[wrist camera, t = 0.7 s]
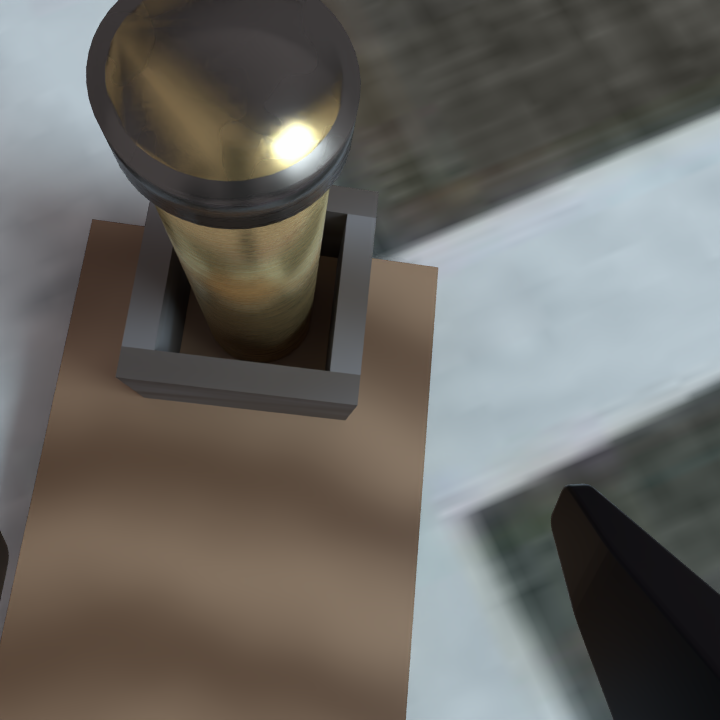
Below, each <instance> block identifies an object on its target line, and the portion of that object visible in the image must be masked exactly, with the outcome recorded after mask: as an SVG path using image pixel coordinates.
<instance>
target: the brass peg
mask: <svg viewBox="0 0 720 720" xmlns="http://www.w3.org/2000/svg"><path fill="white" fill-rule="evenodd" d="M86 84H87V90H88V96H89V101H90V104H91V107H92V110H93V113H94V116H95V118H96V120H97V122H98V124H99V126H100V128H101V130H102V132H103V134H104V136H105V138H106V140H107V142H108V144H109V146H110V148H111V150H112V152H113V154H114V156H115V158H116V160H117V162H118V164H119V166H120V168H121V169H122V171H123V172H124V174H125V175H126V177H127V178H128V180H129V181H130V182H131V183H132V184H133V185H134V187H135V188H136V189H137V190H138V191H139V192H140V193H141V194H142V195H143V196H145V197H146V198H147V199H148V200H149V201H151V202H152V203H153V204H154V205H155V207H156V209H157V211H158V214H159V216H160V218H161V220H162V223H163V225H164V227H165V229H166V232H167V234H168V236H169V238H170V240H171V243H172V245H173V247H174V249H175V252H176V254H177V256H178V258H179V261H180V263H181V265H182V267H183V270H184V272H185V274H186V276H187V279H188V281H189V283H190V285H191V288H192V290H193V292H194V294H195V297H196V299H197V301H198V303H199V306H200V308H201V310H202V312H203V315H204V317H205V319H206V321H207V324H208V326H209V328H210V330H211V333H212V335H213V337H214V339H215V340H216V342H217V343H218V344H219V346H220V347H221V348H222V349H223V350H224V351H226V352H227V353H228V354H229V355H231V356H233V357H234V358H236V359H239V360H241V361H249V362H257V363H271V362H275V361H278V360H280V359H282V358H284V357H286V356H288V355H289V354H291V353H292V352H293V351H295V350H296V349H297V348H298V347H299V345H300V344H301V343H302V341H303V340H304V338H305V336H306V334H307V332H308V329H309V326H310V320H311V313H312V306H313V299H314V292H315V285H316V278H317V271H318V265H319V258H320V251H321V244H322V237H323V230H324V223H325V216H326V209H327V202H328V195H329V188H330V187H331V186H332V184H333V183H334V182H335V180H336V179H337V178H338V176H339V174H340V173H341V171H342V169H343V167H344V165H345V163H346V160H347V157H348V154H349V151H350V148H351V142H352V137H353V132H354V126H355V121H356V116H357V110H358V105H359V100H360V85H361V80H360V72H359V65H358V61H357V57H356V53H355V50H354V48H353V46H352V43H351V41H350V38H349V37H348V35H347V33H346V31H345V30H344V28H343V26H342V25H341V23H340V22H339V21H338V19H337V18H336V17H335V15H334V14H333V13H332V12H331V11H330V10H329V9H328V8H327V7H326V6H325V5H324V4H323V3H322V2H321V1H320V0H118V1H117V3H116V4H115V5H114V6H113V7H112V8H111V9H110V10H109V11H108V13H107V14H106V16H105V17H104V19H103V20H102V21H101V23H100V25H99V27H98V29H97V31H96V33H95V35H94V37H93V40H92V43H91V46H90V50H89V53H88V60H87V66H86Z"/></svg>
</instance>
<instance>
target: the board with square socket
mask: <svg viewBox="0 0 720 720" xmlns="http://www.w3.org/2000/svg"><path fill="white" fill-rule="evenodd" d="M378 193H379V192H375V191H368V190H362V189H355V188H348V187H342V186H335V185H332V186H331V187H330V188H329V195H328V202H327V209H326V216H325V223H324V230H323V237H322V244H321V251H320V258H319V265H318V271H317V278H316V285H315V292H314V299H313V306H312V313H311V320H310V326H309V329H308V332H307V334H306V336H305V338H304V340H303V341H302V343H301V344H300V345H299V347H298V348H297V349H296V350H295V351H293V352H292V353H291V354H289V355H288V356H286V357H284V358H282V359H280V360H278V361H275V362H271V363H257V362H249V361H241V360H239V359H236V358H234V357H233V356H231V355H229V354H228V353H227V352H226V351H224V350H223V349H222V348H221V347H220V346H219V344H218V343H217V342H216V340H215V339H214V337H213V335H212V333H211V330H210V328H209V326H208V324H207V321H206V319H205V317H204V315H203V312H202V310H201V308H200V306H199V303H198V301H197V299H196V297H195V294H194V292H193V290H192V288H191V285H190V283H189V281H188V279H187V276H186V274H185V272H184V270H183V267H182V265H181V263H180V261H179V258H178V256H177V254H176V252H175V249H174V247H173V245H172V243H171V240H170V238H169V236H168V234H167V232H166V229H165V227H164V225H163V223H162V220H161V218H160V216H159V214H158V211H157V209H156V207H155V205H154V204H153V203H152V202H151V201H150V203H149V208H148V213H147V218H146V223H145V227H144V226H137V225H130V224H123V223H116V222H108V221H101V220H94V219H92V223H91V228H90V233H89V237H88V242H87V246H86V251H85V256H84V260H83V265H82V269H81V274H80V278H79V283H78V288H77V292H76V297H75V301H74V306H73V311H72V315H71V320H70V324H69V329H68V334H67V338H66V343H65V347H64V352H63V357H62V361H61V366H60V370H59V375H58V380H57V384H56V389H55V393H54V398H53V403H52V407H51V412H50V416H49V421H48V426H47V430H46V435H45V439H44V444H43V449H42V453H41V458H40V462H39V467H38V472H37V476H36V481H35V485H34V490H33V494H32V499H31V504H30V508H29V513H28V517H27V522H26V527H25V531H24V536H23V540H22V545H21V550H20V554H19V559H18V563H17V568H16V573H15V577H14V582H13V586H12V591H11V596H10V600H9V605H8V609H7V614H6V619H5V623H4V628H3V632H2V637H1V642H0V720H406V708H407V694H408V680H409V666H410V652H411V638H412V624H413V610H414V596H415V582H416V568H417V554H418V541H419V527H420V513H421V499H422V485H423V471H424V457H425V443H426V429H427V415H428V401H429V387H430V373H431V360H432V346H433V332H434V318H435V304H436V290H437V276H438V267H431V266H424V265H417V264H410V263H402V262H395V261H388V260H381V259H374V258H372V254H373V244H374V234H375V224H376V214H377V204H378Z"/></svg>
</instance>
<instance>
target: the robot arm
mask: <svg viewBox="0 0 720 720" xmlns="http://www.w3.org/2000/svg"><path fill="white" fill-rule="evenodd" d="M551 528H552V532H553V536H554V540H555V544H556V547H557V551H558V555H559V559H560V563H561V567H562V571H563V575H564V578H565V582H566V586H567V590H568V594H569V598H570V601H571V605H572V608H573V612H574V615H575V618H576V621H577V624H578V627H579V629H580V632H581V635H582V637H583V640H584V643H585V645H586V648H587V651H588V653H589V656H590V659H591V661H592V664H593V667H594V669H595V672H596V675H597V677H598V680H599V683H600V685H601V688H602V691H603V693H604V696H605V699H606V701H607V704H608V707H609V709H610V712H611V715H612V717H613V720H720V594H718V593H717V592H716V591H715V590H714V589H713V588H711V587H710V586H709V585H708V584H707V583H706V582H704V581H703V580H702V579H701V578H700V577H698V576H697V575H696V574H695V573H694V572H693V571H691V570H690V569H689V568H688V567H687V566H686V565H684V564H683V563H682V562H681V561H680V560H678V559H677V558H676V557H675V556H674V555H673V554H671V553H670V552H669V551H668V550H667V549H666V548H664V547H663V546H662V545H661V544H660V543H658V542H657V541H656V540H655V539H654V538H653V537H651V536H650V535H649V534H648V533H647V532H645V531H644V530H643V529H642V528H641V527H640V526H638V525H637V524H636V523H635V522H634V521H633V520H631V519H630V518H629V517H628V516H627V515H625V514H624V513H623V512H622V511H621V510H620V509H618V508H617V507H616V506H615V505H614V504H613V503H611V502H610V501H609V500H608V499H607V498H605V497H604V496H603V495H602V494H601V493H600V492H598V491H597V490H596V489H595V488H594V487H592V486H590V485H588V484H573V485H566V486H565V487H564V488H563V489H562V491H561V493H560V496H559V498H558V501H557V503H556V505H555V508H554V510H553V513H552V516H551ZM8 559H9V552H8V547H7V544H6V542H5V540H4V538H3V536H2V534H1V532H0V599H1V594H2V589H3V585H4V580H5V575H6V570H7V565H8Z"/></svg>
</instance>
